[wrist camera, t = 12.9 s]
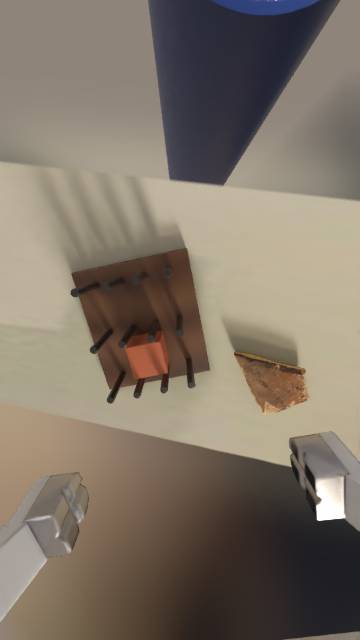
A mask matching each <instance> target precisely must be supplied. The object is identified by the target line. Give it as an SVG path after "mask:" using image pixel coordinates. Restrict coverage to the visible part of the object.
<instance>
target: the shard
mask: <svg viewBox="0 0 360 640" xmlns="http://www.w3.org/2000/svg"><path fill="white" fill-rule="evenodd" d="M234 355H235V357H236V359H237V361H238V363H239V365H240V367H241V368H242V371H243V372H244V374H245V377H246V380H247V383H248V385H249V387H250V389H251V392H252V394H253V396H254V397H255V400H256V402H257V404H258V405H259V406H260V407H261V409H262V412H263V413H264V414H270V413H275V412H279V411H281V410H285V409H287V408H288V407H291V406H294V405H296V404H299V403H302V402H305V401H307V400H308V399H309V395H308V392H307V389H306V386H305V379H304V374H305V371H306V370H305V369H304V368H300V367H294V366H289V365H287V364H280V363H276V362H274V361H271V360H268V359H265V358H263V357H260V356H256V355H253V354H248V353H239V352H234Z"/></svg>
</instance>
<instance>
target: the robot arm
mask: <svg viewBox="0 0 360 640" xmlns="http://www.w3.org/2000/svg"><path fill="white" fill-rule="evenodd" d="M289 447H290V449H291V450H292V452H293V453H292V454H291V455H290V459H291V465H292V469H293V472H294V475H295V477H296V479H297V481H298V483H299V485H300V486H301V487H302V488H304V489H305V490H306V499H307V501H308V503H309V505H310V507H311V509H312V511H313V513H314V514H315V516H316V518H317V520H326V519H337V518H345V519H346V520H347V521H348V522H349V523H350V524H351V525H352V526H354V527H355V528H356V529H357V530H358V531H359V532H360V462H359V461H358V460H357V458H356V457H355V456H354V455H353V454H352V453H351V451H350V450H349V449H348V448H347V447H346V446H345V444H344V443H343V442H342V441H341V440H340V439H339V438H338V436H337V435H336V434H335V433H334V432H332V431H330V432H324V433H318V434H311V435H306V436H300V437H294V438H290V439H289ZM81 481H82V477H81V475H80V473H79V472H78V473H77V472H75V473H66V474H59V475H52V476H45V477H40V478H39V479H37V480H36V481H35V483H34V484H33V486H32V487H31V489H30V490H29V492H28V493H27V495H26V497H25V498H24V500H23V501H22V503H21V505H20V506H19V508H18V509H17V511H16V513H15V514H14V516H13V517H12V519H11V520H10V522H9V523H8V525H4V526H2V527H1V528H0V622H1V621H2V619H3V618H4V617H5V615H6V614H7V613H8V611H9V610H10V609H11V607H12V606H13V605H14V603H15V602H16V601H17V599H18V598H19V597H20V596H21V594H22V593H23V592H24V590H25V589H26V588H27V586H28V585H29V584H30V582H31V581H32V580H33V578H34V577H35V576H36V574H37V573H38V572H39V570H40V569H41V568H42V566H43V565H44V563H46V561H47V558H51V557H57V556H63V555H69V554H71V553H72V550H73V548H74V545H75V542H76V539H77V536H78V534H79V527H78V524H79V523H80V522H81V520H82V519H83V518H84V517H85V514H86V511H87V508H88V500H89V497H88V491H87V489H86V487H85V486H83V485H82V484H80V483H81ZM286 640H360V632H351V633H341V634H332V635H323V636H314V637H305V638H296V639H286Z"/></svg>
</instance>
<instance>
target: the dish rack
mask: <svg viewBox="0 0 360 640" xmlns="http://www.w3.org/2000/svg"><path fill="white" fill-rule="evenodd" d="M72 277H73V280H74V283H75V286H76V288H75V289H72V290H71V295H72V296H73V297H78V296H79V298H80V301H81V304H82V307H83V310H84V313H85V316H86V319H87V322H88V325H89V328H90V331H91V334H92V337H93V340H94V345H93V346H92V347H91V348H90V352H91V353H92V354H96V353H98V356H99V359H100V362H101V365H102V368H103V371H104V374H105V377H106V380H107V383H108V386H109V389H112V390H111V392H110V394H109V396H108V398H107V402H108V403H113V402H114V400H115V398H116V396H117V393H118V391H119V389H120V387H125V386H130V385H136V384H137V385H136V388H135V391H134V394H133V395H134V397H135V398H140V397H141V393H142V389H143V386H144V383H146V382H152V381H157V380H162V382H161V389H160V391H161V392H162V393H166V392H167V391H168V382H169V378H173V377H178V376H183V375H187V383H188V387H189V388H194V387H195V380H194V373H199V372H204V371H210V367H209V362H208V357H207V351H206V346H205V341H204V336H203V330H202V325H201V320H200V315H199V309H198V304H197V299H196V294H195V289H194V283H193V278H192V273H191V268H190V262H189V257H188V252H187V248H185V249H180V250H176V251H171V252H167V253H162V254H157V255H153V256H148V257H144V258H139V259H134V260H130V261H125V262H121V263H116V264H111V265H107V266H102V267H98V268H93V269H88V270H84V271H79V272H75V273H72ZM161 330H162V331H163V335H164V339H165V343H166V347H167V351H168V356H169V364H168V373H165V374H160V375H155V376H150V377H144V378H139V379H134V377H133V373H132V370H131V367H130V363H129V360H128V356H127V353H126V350H125V348H126V346H127V344H128V343H129V341H130V339H131V337H132V336H136V335H141V334H146V333H149V334H148V337H147V341H148V342H154V340H155V337H156V334H157V331H161Z"/></svg>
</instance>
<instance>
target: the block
mask: <svg viewBox="0 0 360 640" xmlns="http://www.w3.org/2000/svg"><path fill="white" fill-rule="evenodd" d="M148 334H149V333H146V334H141V335H136V336H132V337H131V339H130V341H129V343H128V344H127V346H126V348H125V350H126V353H127V356H128V360H129V363H130V367H131V370H132V373H133V377H134V379H139V378H144V377H150V376H155V375H160V374H165V373H168V364H169V356H168V351H167V347H166V343H165V339H164V335H163V331H162V330H161V331H157V334H156V337H155V340H154V342H148V341H147V337H148Z"/></svg>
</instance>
